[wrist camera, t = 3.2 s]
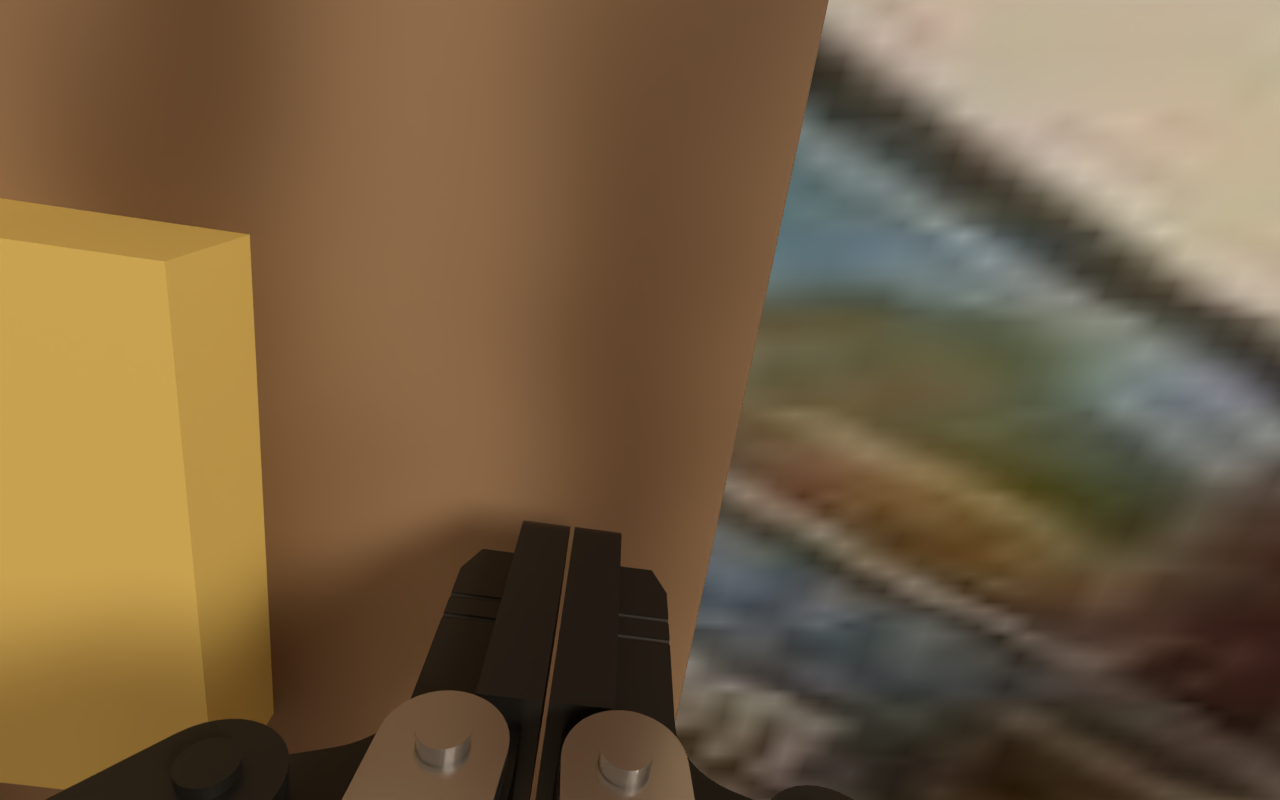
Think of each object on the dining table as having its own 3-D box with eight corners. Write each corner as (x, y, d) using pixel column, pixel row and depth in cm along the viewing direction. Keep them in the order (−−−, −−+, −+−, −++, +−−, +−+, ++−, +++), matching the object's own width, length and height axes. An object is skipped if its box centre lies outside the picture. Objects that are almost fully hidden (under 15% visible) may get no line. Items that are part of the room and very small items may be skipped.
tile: (249, 234, 11) (165, 262, 9) (273, 713, 14) (216, 806, 12) (-184, 171, 10) (-367, 185, 8) (-55, 674, 14) (-166, 764, 12)
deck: (806, -74, 12) (856, -131, 9) (630, 821, 19) (628, 943, 16) (-247, -252, 11) (-551, -374, 8) (-7, 749, 18) (-124, 864, 16)
